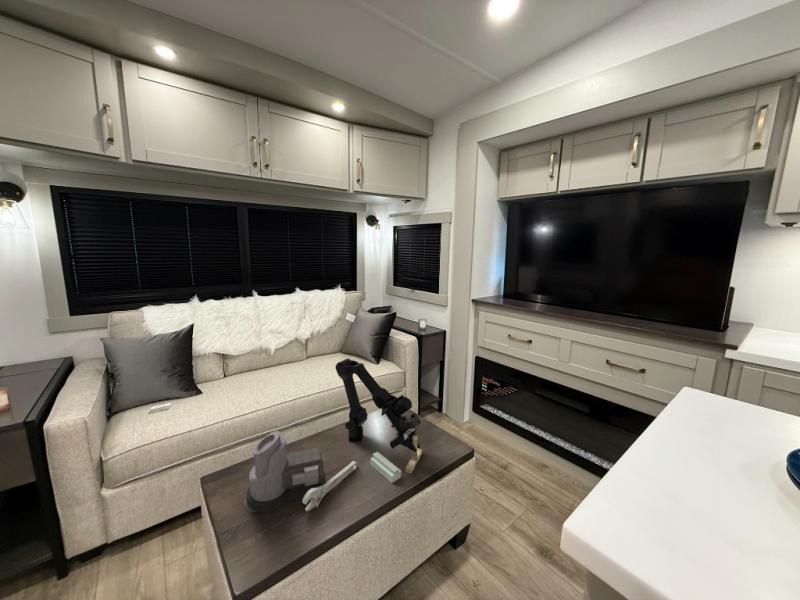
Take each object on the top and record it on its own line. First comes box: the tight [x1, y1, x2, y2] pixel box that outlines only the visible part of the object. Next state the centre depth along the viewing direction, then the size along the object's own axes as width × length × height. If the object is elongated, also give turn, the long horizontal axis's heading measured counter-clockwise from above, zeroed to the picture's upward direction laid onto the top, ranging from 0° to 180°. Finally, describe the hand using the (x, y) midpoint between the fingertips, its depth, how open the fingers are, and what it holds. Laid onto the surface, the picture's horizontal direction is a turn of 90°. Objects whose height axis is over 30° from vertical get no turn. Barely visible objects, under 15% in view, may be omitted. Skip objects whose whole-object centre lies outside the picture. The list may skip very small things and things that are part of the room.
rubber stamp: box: [405, 434, 423, 475], centre depth 136 cm, size 14×2×12 cm, turn 157°
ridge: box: [369, 451, 402, 484], centre depth 131 cm, size 14×5×4 cm, turn 43°
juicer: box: [242, 430, 327, 514], centre depth 118 cm, size 30×16×24 cm, turn 110°
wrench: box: [301, 460, 358, 512], centre depth 121 cm, size 8×2×30 cm
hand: (417, 449), depth 135 cm, fingers closed on rubber stamp, 2 cm apart
